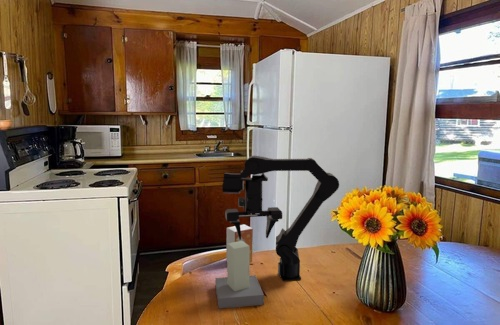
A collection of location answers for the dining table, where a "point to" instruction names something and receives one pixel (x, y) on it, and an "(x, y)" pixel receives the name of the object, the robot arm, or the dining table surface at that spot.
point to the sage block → (238, 265)
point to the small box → (245, 236)
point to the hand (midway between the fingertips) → (253, 238)
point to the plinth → (238, 294)
